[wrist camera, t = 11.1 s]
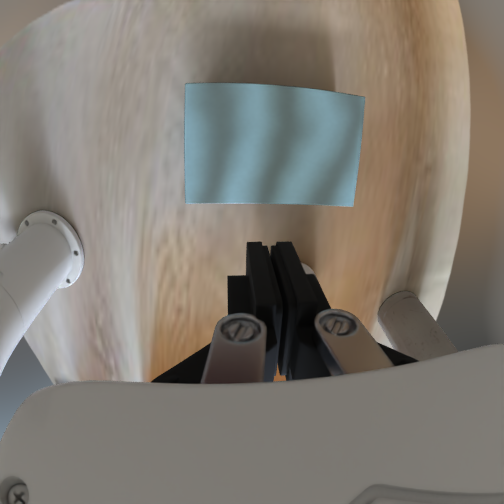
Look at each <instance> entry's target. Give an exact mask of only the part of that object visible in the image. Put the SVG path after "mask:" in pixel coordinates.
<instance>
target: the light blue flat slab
mask: <svg viewBox="0 0 504 504" xmlns="http://www.w3.org/2000/svg"><path fill="white" fill-rule="evenodd" d="M364 105H365V97H362V96H357V95H351V94H346V93H340V92H333V91H326V90H319V89H311V88H302V87H293V86H282V85H268V84H250V83H186V84H185V119H184V163H185V203H186V204H194V203H255V204H303V205H331V206H353V203H354V196H355V189H356V181H357V174H358V166H359V158H360V149H361V139H362V129H363V118H364Z"/></svg>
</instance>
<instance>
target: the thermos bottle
mask: <svg viewBox="0 0 504 504" xmlns="http://www.w3.org/2000/svg"><path fill="white" fill-rule="evenodd" d="M378 322H379V324H380V326H381V327H382V329H383V331H384V332H385V334H386V336H387V338H388V339H389V341H390V343H391V345H392V347H393V348H394V350H396V351H398V352H401V353H403V354H405V355H408V356H410V357H412V358H415V359H416V360H418V361H424V360H428V359H433V358H437V357H441V356H445V355H449V354H453V353H457V352H458V351H457V349H456V348H455V347H454V345H453V344H452V342H451V341H450V340H449V338H448V337H447V336H446V334H445V333H444V332H443V330H442V329H441V328H440V326H439V325H438V324H437V322H436V321H435V320H434V318H433V317H432V316H431V315H430V313H429V312H428V311H427V309H426V308H425V307H424V306H423V304H422V303H421V302H420V301H419V299H418V298H417V297H416V296H415V295H414V294H413V293H412V292H409V291H402V292H398V293H396V294H394V295H392V296H391V297H389V298H388V299H387V300H386V301H385V302H384V303H383V305H382V306H381V308H380V310H379V313H378Z"/></svg>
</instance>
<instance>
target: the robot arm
mask: <svg viewBox="0 0 504 504" xmlns="http://www.w3.org/2000/svg"><path fill="white" fill-rule="evenodd" d="M83 264H84V254H83V248H82V245H81V242H80V239H79V237H78V235H77V233H76V232H75V231H74V229H73V228H72V226H71V225H70V224H69V223H68V222H67V221H66V220H65V219H63V218H62V217H61V216H59V215H57V214H55V213H53V212H50V211H43V210H41V211H36V212H34V213H32V214H30V215H29V216H27V217H26V218H25V219H24V220H23V221H22V223H21V224H20V226H19V229H18V233H17V237H16V238H15V239H14V240H13V241H11V242H9V244H0V375H1V373H2V371H3V368H4V366H5V364H6V362H7V361H8V358H9V357H10V355H11V353H12V352H13V350H14V348H15V347H16V345H17V344H18V342H19V341H20V339H21V338H22V336H23V335H24V333H25V332H26V330H27V329H28V327H29V326H30V325H31V323H32V322H33V320H34V319H35V317H36V316H37V315H38V313H39V312H40V310H41V309H42V308H43V306H44V305H45V304H46V302H47V301H48V300H49V298H50V297H51V296H52V294H53V293H54V292H55V290H56V289H57V288H65V287H68V286H70V285H71V284H73V283H74V282H75V281H76V280H77V278H78V277H79V276H80V274H81V272H82V269H83ZM277 363H278V368H279V373H280V375H285V376H286V381H276V382H273V380H274V376H276V371H277ZM0 504H504V344H494V345H487V346H482V347H478V348H474V349H469V350H465V351H461V352H457V353H453V354H449V355H445V356H441V357H437V358H433V359H428V360H424V361H418V360H416V359H415V358H412V357H410V356H408V355H405V354H403V353H401V352H398V351H396V350H394V349H391V348H389V347H387V346H384V345H382V344H380V343H377V342H376V341H375V339H374V338H373V337H372V336H371V334H370V333H369V332H368V330H367V329H366V328H365V327H364V325H363V324H362V323H361V321H360V320H359V319H358V318H357V317H356V316H355V315H353V314H352V313H350V312H348V311H344V310H340V309H331V307H330V305H329V303H328V301H327V299H326V297H325V295H324V293H323V291H322V289H321V286H320V284H319V282H318V280H317V278H316V276H315V275H314V274H306V273H305V271H304V268H303V266H302V264H301V262H300V260H299V257H298V255H297V253H296V251H295V248H294V246H293V244H292V242H276V246H271V252H270V254H269V250H268V247H267V246H262V242H247V251H246V275H242V276H228V315H227V316H225V317H223V318H222V319H221V320H219V321H218V323H217V325H216V327H215V330H214V334H213V338H212V342H211V343H210V344H208V345H207V346H205V347H204V348H202V349H201V350H199V351H198V352H196V353H194V354H193V355H191V356H190V357H188V358H187V359H185V360H184V361H182V362H180V363H179V364H177V365H176V366H174V367H173V368H171V369H169V370H168V371H166V372H165V373H163V374H161V375H160V376H158V377H157V378H155V379H154V380H153V381H152V382H151V383H150V382H125V381H96V380H88V381H75V382H67V383H62V384H56V385H52V386H49V387H45V388H42V389H40V390H38V391H36V392H34V393H32V394H31V395H30V396H29V397H27V398H26V399H25V400H24V402H23V403H22V404H21V405H20V407H19V408H18V409H17V411H16V412H15V414H14V416H13V417H12V419H11V421H10V423H9V424H8V426H7V428H6V431H5V432H4V435H3V437H2V439H1V441H0Z"/></svg>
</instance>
